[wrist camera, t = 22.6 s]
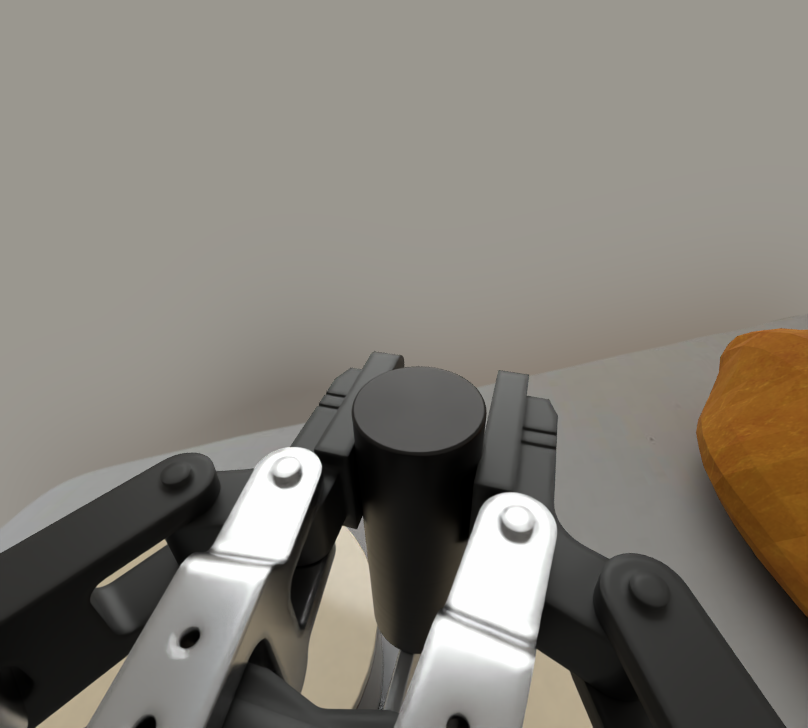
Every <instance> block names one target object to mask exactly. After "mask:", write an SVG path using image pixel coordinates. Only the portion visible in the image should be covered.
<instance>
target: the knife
mask: <svg viewBox="0 0 808 728" xmlns="http://www.w3.org/2000/svg"><path fill="white" fill-rule="evenodd" d="M351 414H352V423H353V432H354V440H355V449H356V458H357V467H358V475H359V484H360V493H361V502H362V510H363V519H364V528H365V537H366V546H367V554H368V563H369V572H370V581H371V589H372V598H373V607H374V615H375V620H376V623H377V626H378V628H379V630H380V631H381V633H382V635H383V636H384V637H385V638H386V639H387V640H388V641H389V642H390V643H391V644H392V645H394V646H395V647H397V648H398V649H400V650H399V654H398V658H397V661H396V665H395V668H394V672H393V676H392V679H391V683H390V686H389V690H388V694H387V697H386V701H385V704H384V708H383V710H391V711H394V712H397V713H400V710H401V707H402V705H403V702H404V699H405V697H406V694H407V691H408V688H409V686H410V683H411V680H412V678H413V675H414V672H415V669H416V667H417V664H418V661H419V659H420V656H421V653H422V651H423V648H424V645H425V642H426V640H427V637H428V634H429V632H430V629H431V626H432V624H433V622H434V619H435V617H436V615H437V613H438V611H439V610H440V609H441V608H444V606H445V604H446V602H447V599H448V597H449V594H450V591H451V589H452V586H453V583H454V580H455V577H456V575H457V572H458V569H459V566H460V564H461V561H462V558H463V555H464V552H465V550H466V547H467V544H468V538H469V527H470V517H471V507H472V497H473V487H474V480H475V476H476V471H477V466H478V463H479V461H480V458H481V455H482V450H483V441H484V432H485V423H486V405H485V402H484V399H483V397H482V395H481V394H480V392H479V391H478V389H477V388H476V387H475V386H473V384H471V383H470V382H469V381H468V380H466V379H465V378H463V377H461V376H459V375H457V374H455V373H452V372H450V371H447V370H443V369H438V368H432V367H419V366H418V367H405V368H399V369H395V370H391V371H388V372H385V373H383V374H380V375H379V376H377V377H375V378H373V379H372V380H370V381H369V382H367V383H366V384H365V385H364V386H363V387H362V388H361V389H360V391H359V392H358V393H357V395H356V397H355V399H354V401H353V405H352V412H351Z"/></svg>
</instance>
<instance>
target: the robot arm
mask: <svg viewBox="0 0 808 728" xmlns="http://www.w3.org/2000/svg"><path fill="white" fill-rule="evenodd" d="M399 368H404V358H403V356H402V355H395V354H388V353H382V352H373V353H372V354H371V355H370V357H369V359H368V360H367V362H366V364H365V365H364V367H363V369H356V368H350V369H349V370H347V371H346V372H344V373H343V374H341V375H340V376H339V377H337V378H336V379H335V380H334V382H333V383H332V384H331V386H330V388H329V389H328V391H327V393H326V395H324V397H323V398H322V400H321V401H320V403H319V406H317V407H316V409H315V410H314V412H313V413H312V415H311V416H310V418H309V419H308V421H307V422H306V424H305V425H304V427H303V428H302V430H301V431H300V433H299V434H298V436H297V437H296V439H295V440H294V442H293V443H292V445H291V446H290V447H289V448H283V449H280V450H277V451H274V452H272V453H270V454H269V455H267V456H266V457H264V458H263V459H262V460H261V461H260V462H259V463H258V464H257V466H256V467H255V468H254V469H245V470H230V471H216V470H215V467H214V465H213V462H212V461H211V459H210V458H208V457H207V456H205V455H203V454H199V453H183V454H178V455H175V456H172V457H169V458H167V459H165V460H163V461H161V462H160V463H158V464H156V465H154V466H153V467H151V468H149V469H147V470H146V471H144V472H142V473H140V474H139V475H137V476H135V477H133V478H132V479H130V480H128V481H126V482H125V483H123V484H121V485H119V486H118V487H116V488H114V489H112V490H111V491H109V492H107V493H105V494H104V495H102V496H100V497H98V498H97V499H95V500H93V501H91V502H90V503H88V504H86V505H84V506H83V507H81V508H79V509H77V510H76V511H74V512H72V513H70V514H69V515H67V516H65V517H63V518H62V519H60V520H58V521H56V522H55V523H53V524H51V525H49V526H48V527H46V528H44V529H42V530H41V531H39V532H37V533H35V534H34V535H32V536H30V537H28V538H27V539H25V540H23V541H21V542H20V543H18V544H16V545H14V546H13V547H11V548H9V549H7V550H6V551H4V552H2V553H0V728H36V727H37V726H38V725H39V724H41V723H42V722H43V721H45V720H46V719H47V718H48V717H50V716H51V715H52V714H53V713H55V712H56V711H57V710H59V709H60V708H61V707H62V706H64V705H65V704H66V703H68V702H69V701H70V700H71V699H73V698H74V697H75V696H76V695H78V694H79V693H80V692H82V691H83V690H84V689H85V688H87V687H88V686H89V685H91V684H92V683H93V682H94V681H96V680H97V679H98V678H100V677H101V676H102V675H103V674H105V673H106V672H107V671H108V670H110V669H111V668H112V667H114V666H115V665H116V664H117V663H119V662H120V661H121V660H123V659H124V658H125V657H126V656H127V658H126V660H125V661H124V663H123V665H122V666H121V668H120V670H119V672H118V673H117V675H116V677H115V678H114V680H113V682H112V684H111V685H110V687H109V689H108V690H107V692H106V694H105V696H104V697H103V699H102V701H101V702H100V704H99V706H98V708H97V709H96V711H95V713H94V714H93V716H92V718H91V719H90V721H89V723H88V725H87V726H86V727H84V728H522V727H523V722H524V717H525V712H526V706H527V701H528V696H529V690H530V685H531V680H532V675H533V669H534V663H535V657H536V650H539V651H540V652H542V653H543V654H545V655H546V656H548V657H549V658H551V659H552V660H554V661H555V662H557V663H558V664H560V665H561V666H563V667H564V668H566V669H567V670H569V671H570V673H571V676H572V679H573V681H574V684H575V686H576V688H577V691H578V693H579V695H580V698H581V700H582V703H583V705H584V707H585V710H586V712H587V714H588V717H589V719H590V722H591V724H592V726H593V728H786V726H785V725H784V724H783V722H782V721H781V719H780V718H779V716H778V715H777V714H776V712H775V711H774V709H773V708H772V706H771V705H770V704H769V702H768V701H767V699H766V698H765V696H764V695H763V693H762V692H761V691H760V689H759V688H758V686H757V685H756V683H755V682H754V681H753V679H752V678H751V676H750V675H749V673H748V672H747V671H746V669H745V668H744V666H743V665H742V663H741V662H740V661H739V659H738V658H737V656H736V655H735V653H734V652H733V650H732V649H731V648H730V646H729V645H728V643H727V642H726V640H725V639H724V638H723V636H722V635H721V633H720V632H719V630H718V629H717V628H716V626H715V625H714V623H713V622H712V620H711V619H710V618H709V616H708V615H707V613H706V612H705V610H704V609H703V607H702V606H701V605H700V603H699V602H698V600H697V599H696V597H695V596H694V595H693V593H692V592H691V590H690V589H689V587H688V586H687V585H686V583H685V582H684V581H683V580H682V578H681V577H680V576H679V575H678V574H677V573H676V572H674V571H673V570H672V569H671V568H669V567H668V566H667V565H665V564H663V563H662V562H660V561H658V560H656V559H654V558H651V557H648V556H646V555H641V554H635V553H626V554H620V555H617V556H615V557H613V558H611V559H608V558H606V557H604V556H603V555H601V554H599V553H597V552H595V551H593V550H591V549H589V548H587V547H586V546H584V545H582V544H581V543H579V542H578V541H576V540H575V539H574V538H572V537H571V536H570V535H569V534H568V533H567V532H566V531H565V529H564V528H563V527H562V525H561V524H560V522H559V521H558V518H557V516H556V513H555V509H554V490H555V467H556V444H557V421H558V415H557V413H556V412H555V410H554V408H553V406H552V404H551V402H550V400H549V399H543V398H537V397H531V396H526V395H527V388H528V380H529V375H528V374H521V373H515V372H508V371H501V370H499V371H498V375H497V379H496V384H495V388H494V393H493V397H492V402H491V407H490V411H489V416H488V420H487V425H486V430H485V434H484V441H483V450H482V455H481V458H480V461H479V463H478V466H477V471H476V476H475V480H474V487H473V497H472V507H471V517H470V527H469V538H468V544H467V547H466V550H465V552H464V555H463V558H462V561H461V564H460V566H459V569H458V572H457V575H456V577H455V580H454V583H453V586H452V589H451V591H450V594H449V597H448V599H447V602H446V604H445V606H444V608H441V609H440V610H439V611H438V613H437V615H436V617H435V619H434V622H433V624H432V626H431V629H430V632H429V634H428V637H427V640H426V642H425V645H424V648H423V651H422V653H421V656H420V659H419V661H418V664H417V667H416V669H415V672H414V675H413V678H412V680H411V683H410V686H409V688H408V691H407V694H406V697H405V699H404V702H403V705H402V707H401V710H400V713H397V712H394V711H391V710H374V709H326V708H321V707H318V706H316V705H315V704H313V703H312V702H311V701H310V700H308V699H307V698H306V697H304V696H303V695H302V694H301V692H302V688H303V685H304V681H305V676H306V670H307V663H308V647H309V641H310V636H311V632H312V629H313V626H314V622H315V619H316V616H317V613H318V609H319V606H320V603H321V599H322V596H323V593H324V590H325V586H326V583H327V580H328V577H329V573H330V570H331V567H332V563H333V560H334V557H335V553H336V544H335V541H336V539H337V537H338V535H339V532H340V530H341V528H342V526H346V527H350V528H354V529H357V528H358V526H359V523H360V521H361V518H362V516H363V510H362V502H361V493H360V484H359V475H358V467H357V458H356V449H355V440H354V432H353V423H352V414H351V412H352V405H353V401H354V399H355V397H356V395H357V393H358V392H359V391H360V389H361V388H362V387H363V386H364V385H365V384H366V383H367V382H369V381H370V380H372V379H373V378H375V377H377V376H379V375H380V374H383V373H385V372H388V371H391V370H395V369H399ZM164 539H165V541H166V543H167V545H165V546H164V547H163V548H161V549H160V550H158V551H157V552H155V553H154V554H152V555H151V556H149V557H148V558H146V559H145V560H143V561H142V562H140V563H139V564H138V565H136V566H135V567H133V568H132V569H130V570H129V571H127V572H126V573H124V574H123V575H121V576H120V577H118V578H117V579H115V580H114V581H113V582H111V583H109V584H107V585H105V586H102V587H97V586H98V584H100V583H101V582H102V581H103V580H105V579H106V578H107V577H109V576H110V575H112V574H113V573H115V572H116V571H118V570H119V569H121V568H122V567H124V566H125V565H127V564H128V563H130V562H131V561H133V560H134V559H136V558H137V557H139V556H140V555H142V554H143V553H145V552H146V551H148V550H149V549H151V548H152V547H154V546H155V545H157V544H158V543H160V542H161V541H162V540H164ZM96 587H97V588H96Z"/></svg>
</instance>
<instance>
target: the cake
mask: <svg viewBox="0 0 808 728" xmlns="http://www.w3.org/2000/svg"><path fill="white" fill-rule="evenodd" d="M335 544H336V553H335V557H334V560H333V563H332V567H331V570H330V573H329V577H328V580H327V583H326V586H325V590H324V593H323V596H322V599H321V603H320V606H319V609H318V613H317V616H316V619H315V622H314V626H313V629H312V632H311V636H310V641H309V647H308V663H307V670H306V676H305V681H304V685H303V688H302V692H301V694H302V695H303V696H304V697H306V698H307V699H308V700H310V701H311V702H312V703H313V704H315V705H316V706H318V707H321V708H326V709H374V710H378V707H379V702H380V698H381V691H382V682H383V649H382V639H381V631H380V630H379V628H378V626H377V623H376V620H375V615H374V607H373V598H372V589H371V581H370V572H369V563H368V560H367V558H366V556H365V553H364V551H363V549H362V548H361V546H360V545H359V543H358V541H357V540H356V538H355V537H354V536H353V534H352V533H351V532H350V531H349V530H348V529H347V528H346V526H342V528H341V530H340V532H339V535H338V537H337V539H336V541H335ZM165 545H167V543H166V541H165V539H164V540H162V541H161V542H160V543H158V544H157V545H155V546H154V547H152V548H151V549H149V550H148V551H146V552H145V553H143V554H142V555H140V556H139V557H137V558H136V559H134V560H133V561H131V562H130V563H128V564H127V565H125V566H124V567H122V568H121V569H119V570H118V571H116V572H115V573H113V574H112V575H110V576H109V577H107V578H106V579H105V580H103V581H102V582H101V583H100V584H98V586H97V587H102V586H105V585H107V584H109V583H111V582H113V581H114V580H115V579H117V578H118V577H120V576H121V575H123V574H124V573H126V572H127V571H129V570H130V569H132V568H133V567H135V566H136V565H138V564H139V563H140V562H142V561H143V560H145V559H146V558H148V557H149V556H151V555H152V554H154V553H155V552H157V551H158V550H160V549H161V548H163V547H164V546H165ZM97 587H96V588H97ZM126 658H127V656H126V657H125V658H124V659H123V660H121V661H120V662H119V663H117V664H116V665H115V666H114V667H112V668H111V669H110V670H108V671H107V672H106V673H105V674H103V675H102V676H101V677H100V678H98V679H97V680H96V681H94V682H93V683H92V684H91V685H89V686H88V687H87V688H85V689H84V690H83V691H82V692H80V693H79V694H78V695H76V696H75V697H74V698H73V699H71V700H70V701H69V702H68V703H66V704H65V705H64V706H62V707H61V708H60V709H59V710H57V711H56V712H55V713H53V714H52V715H51V716H50V717H48V718H47V719H46V720H45V721H43V722H42V723H41V724H39V725H38V726H37V727H36V728H84V727H86V726H87V725H88V723H89V721H90V719H91V718H92V716H93V714H94V713H95V711H96V709H97V708H98V706H99V704H100V702H101V701H102V699H103V697H104V696H105V694H106V692H107V690H108V689H109V687H110V685H111V684H112V682H113V680H114V678H115V677H116V675H117V673H118V672H119V670H120V668H121V666H122V665H123V663H124V661H125V660H126Z"/></svg>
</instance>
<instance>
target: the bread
mask: <svg viewBox="0 0 808 728" xmlns="http://www.w3.org/2000/svg"><path fill="white" fill-rule="evenodd" d="M696 434H697V440H698V446H699V450H700V454H701V458H702V462H703V466H704V468H705V470H706V472H707V474H708V476H709V479H710V481H711V483H712V485H713V487H714V489H715V491H716V493H717V496H718V498H719V500H720V501H721V503H722V505H723V507H724V508H725V510H726V512H727V513H728V515H729V517H730V519H731V520H732V522H733V524H734V525H735V527H736V528H737V529H738V531H739V532H740V534H741V535H742V537H743V538H744V539H745V541H746V542H747V544H748V545H749V546H750V548H751V549H752V551H753V552H754V553H755V555H756V556H757V558H758V559H759V560H760V561H761V563H762V564H763V565H764V566H765V567H766V569H767V570H768V571H769V572H770V573H771V575H772V576H773V577H774V578H775V579H776V581H777V582H778V583H779V584H780V586H781V587H782V588H783V589H784V590H785V592H786V593H787V594H788V595H789V596H790V598H791V599H792V600H793V601H794V602H795V604H796V605H797V606H798V607H799V608H800V609H801V611H802V612H803V613H804V614H805V615H806V616H807V617H808V330H794V329H782V328H780V329H772V330H763V331H755V332H750V333H747V334H743V335H740V336H737V337H736V338H735V339H734V340H732V341H731V342H730V343H729V344H728V346H727V347H726V349H725V350H724V352H723V354H722V355H721V357H720V367H719V374H718V376H717V379H716V381H715V384H714V386H713V389H712V391H711V393H710V396H709V398H708V400H707V402H706V404H705V407H704V409H703V411H702V413H701V415H700V418H699V420H698V425H697V430H696Z"/></svg>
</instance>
